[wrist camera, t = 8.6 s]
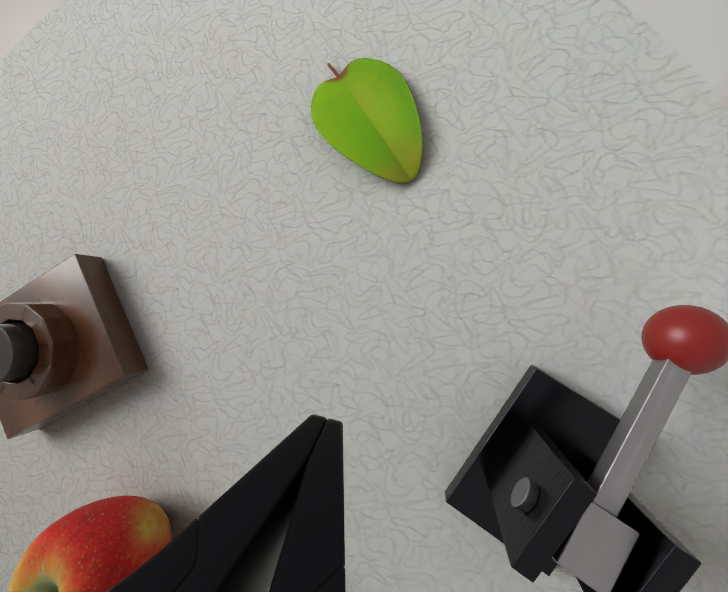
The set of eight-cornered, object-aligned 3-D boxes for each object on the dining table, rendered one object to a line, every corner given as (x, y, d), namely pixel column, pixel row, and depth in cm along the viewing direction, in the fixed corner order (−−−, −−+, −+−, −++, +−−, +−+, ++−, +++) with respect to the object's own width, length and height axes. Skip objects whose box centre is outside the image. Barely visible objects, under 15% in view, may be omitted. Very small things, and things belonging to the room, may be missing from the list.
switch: (643, 299, 18) (694, 285, 15) (705, 332, 18) (771, 325, 15) (519, 524, 17) (548, 559, 14) (582, 568, 16) (627, 616, 13)
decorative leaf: (424, 57, 24) (424, 47, 23) (421, 184, 24) (422, 178, 23) (314, 65, 25) (311, 55, 24) (309, 186, 25) (305, 181, 24)
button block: (38, 429, 30) (-23, 448, 26) (-3, 322, 31) (-66, 325, 27) (148, 369, 28) (101, 380, 24) (101, 257, 29) (49, 250, 25)
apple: (109, 572, 28) (-66, 718, 18) (108, 469, 28) (-65, 559, 18) (199, 586, 27) (62, 752, 17) (198, 477, 27) (61, 578, 17)
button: (9, 387, 26) (-21, 393, 24) (-9, 337, 26) (-40, 340, 25) (49, 364, 25) (21, 368, 23) (29, 313, 26) (0, 314, 24)
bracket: (530, 364, 22) (591, 403, 14) (638, 430, 21) (780, 520, 12) (444, 491, 23) (450, 604, 15) (543, 562, 22) (613, 731, 13)
